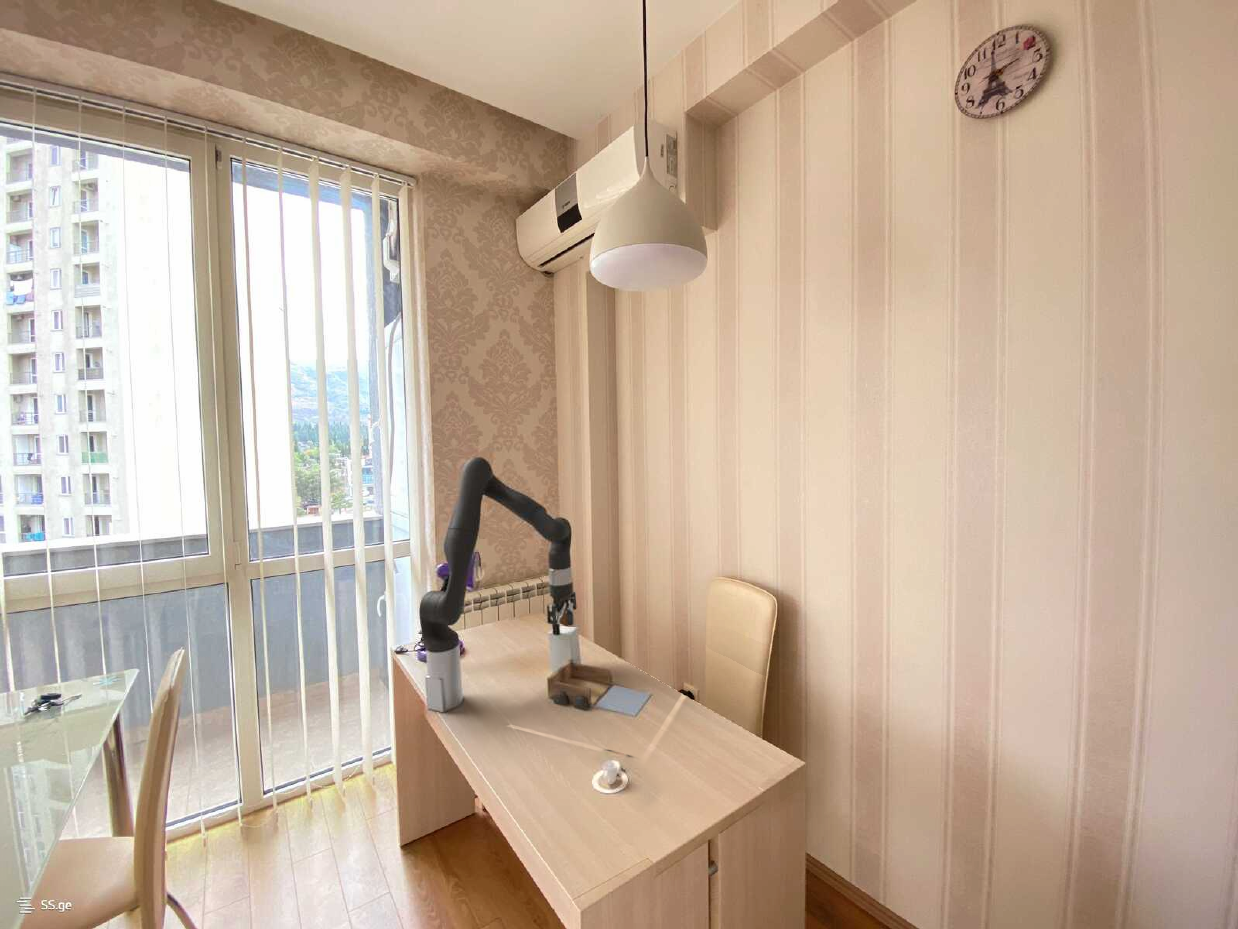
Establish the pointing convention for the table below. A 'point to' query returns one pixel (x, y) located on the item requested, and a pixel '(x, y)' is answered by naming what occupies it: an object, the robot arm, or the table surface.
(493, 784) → the table surface
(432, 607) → the robot arm
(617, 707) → the tailgate
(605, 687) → the wooden toy cart
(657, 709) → the table surface
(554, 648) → the skincare box
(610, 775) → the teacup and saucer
